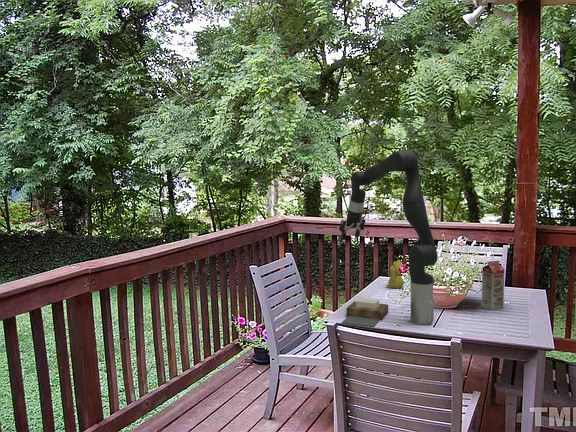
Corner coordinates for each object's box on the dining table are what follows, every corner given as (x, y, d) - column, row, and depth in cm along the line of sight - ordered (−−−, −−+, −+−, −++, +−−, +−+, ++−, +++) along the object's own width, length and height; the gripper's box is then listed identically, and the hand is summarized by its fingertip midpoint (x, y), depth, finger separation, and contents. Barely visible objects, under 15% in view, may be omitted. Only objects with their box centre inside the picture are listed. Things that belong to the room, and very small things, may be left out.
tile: (379, 305, 223) (379, 300, 223) (375, 308, 218) (375, 303, 218) (359, 303, 227) (359, 298, 227) (355, 306, 222) (355, 301, 221)
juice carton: (481, 306, 233) (482, 260, 231) (493, 304, 235) (494, 259, 233) (491, 310, 227) (492, 263, 224) (503, 308, 229) (504, 261, 227)
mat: (379, 320, 214) (379, 319, 214) (373, 327, 206) (373, 326, 206) (348, 317, 220) (348, 315, 220) (341, 323, 211) (341, 322, 211)
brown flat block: (388, 313, 225) (388, 304, 225) (381, 320, 214) (381, 311, 214) (354, 309, 232) (354, 301, 231) (346, 316, 221) (346, 307, 220)
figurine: (392, 284, 279) (392, 258, 277) (407, 286, 273) (407, 259, 272) (383, 288, 269) (384, 261, 268) (399, 290, 264) (399, 263, 263)
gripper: (348, 212, 244) (342, 242, 250) (371, 211, 251) (365, 239, 257) (340, 207, 250) (334, 236, 256) (362, 205, 257) (356, 233, 263)
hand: (349, 238), depth 257 cm, fingers open, 8 cm apart
